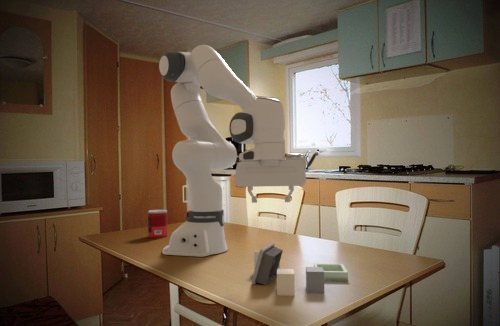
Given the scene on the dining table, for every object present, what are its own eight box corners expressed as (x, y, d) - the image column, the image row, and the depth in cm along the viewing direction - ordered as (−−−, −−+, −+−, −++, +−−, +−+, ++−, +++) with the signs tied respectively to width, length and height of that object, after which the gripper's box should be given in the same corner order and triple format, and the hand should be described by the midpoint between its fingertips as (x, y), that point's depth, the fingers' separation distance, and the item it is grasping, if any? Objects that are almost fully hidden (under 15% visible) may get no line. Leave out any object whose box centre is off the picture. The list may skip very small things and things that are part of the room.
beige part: (277, 295, 86) (276, 273, 86) (277, 289, 90) (277, 268, 90) (294, 295, 86) (294, 274, 86) (294, 289, 90) (293, 269, 90)
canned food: (171, 235, 159) (170, 210, 159) (157, 239, 152) (156, 212, 152) (158, 234, 163) (158, 209, 163) (144, 237, 156) (143, 211, 156)
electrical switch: (263, 274, 102) (266, 241, 102) (281, 278, 100) (284, 244, 100) (250, 285, 94) (253, 248, 93) (270, 289, 92) (272, 252, 91)
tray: (316, 280, 96) (316, 272, 96) (313, 271, 104) (313, 263, 104) (348, 280, 96) (347, 272, 96) (342, 271, 104) (342, 263, 104)
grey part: (307, 292, 88) (306, 271, 88) (306, 287, 92) (305, 266, 92) (324, 293, 87) (324, 271, 87) (322, 287, 91) (322, 267, 91)
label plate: (254, 272, 104) (254, 251, 104) (254, 272, 105) (254, 250, 105) (279, 273, 103) (279, 251, 103) (279, 272, 104) (279, 250, 104)
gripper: (305, 153, 109) (306, 200, 109) (236, 154, 110) (237, 201, 110) (307, 152, 102) (308, 203, 102) (233, 154, 104) (234, 203, 104)
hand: (270, 202), depth 106 cm, fingers open, 8 cm apart
